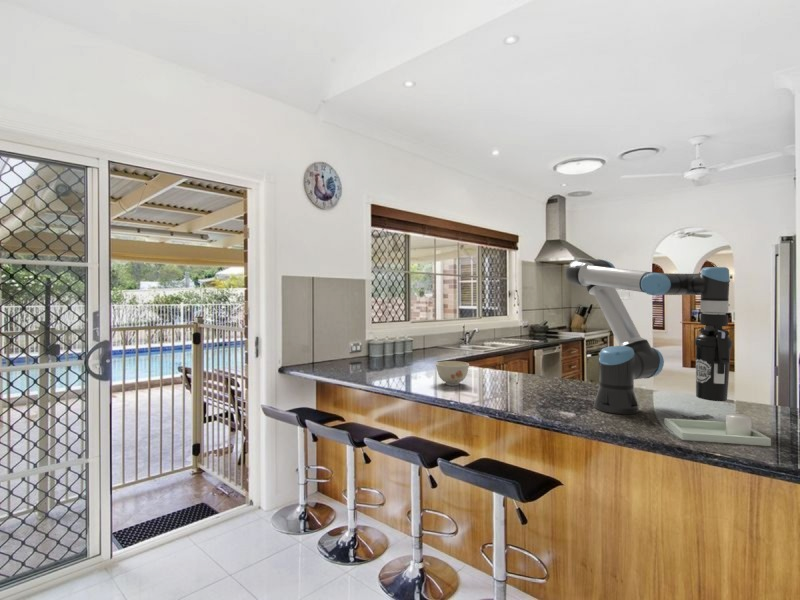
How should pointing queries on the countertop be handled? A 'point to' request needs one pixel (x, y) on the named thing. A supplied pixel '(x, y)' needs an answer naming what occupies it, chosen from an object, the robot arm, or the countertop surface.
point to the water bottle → (709, 368)
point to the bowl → (452, 371)
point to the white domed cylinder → (738, 424)
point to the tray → (712, 432)
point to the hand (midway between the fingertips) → (711, 379)
